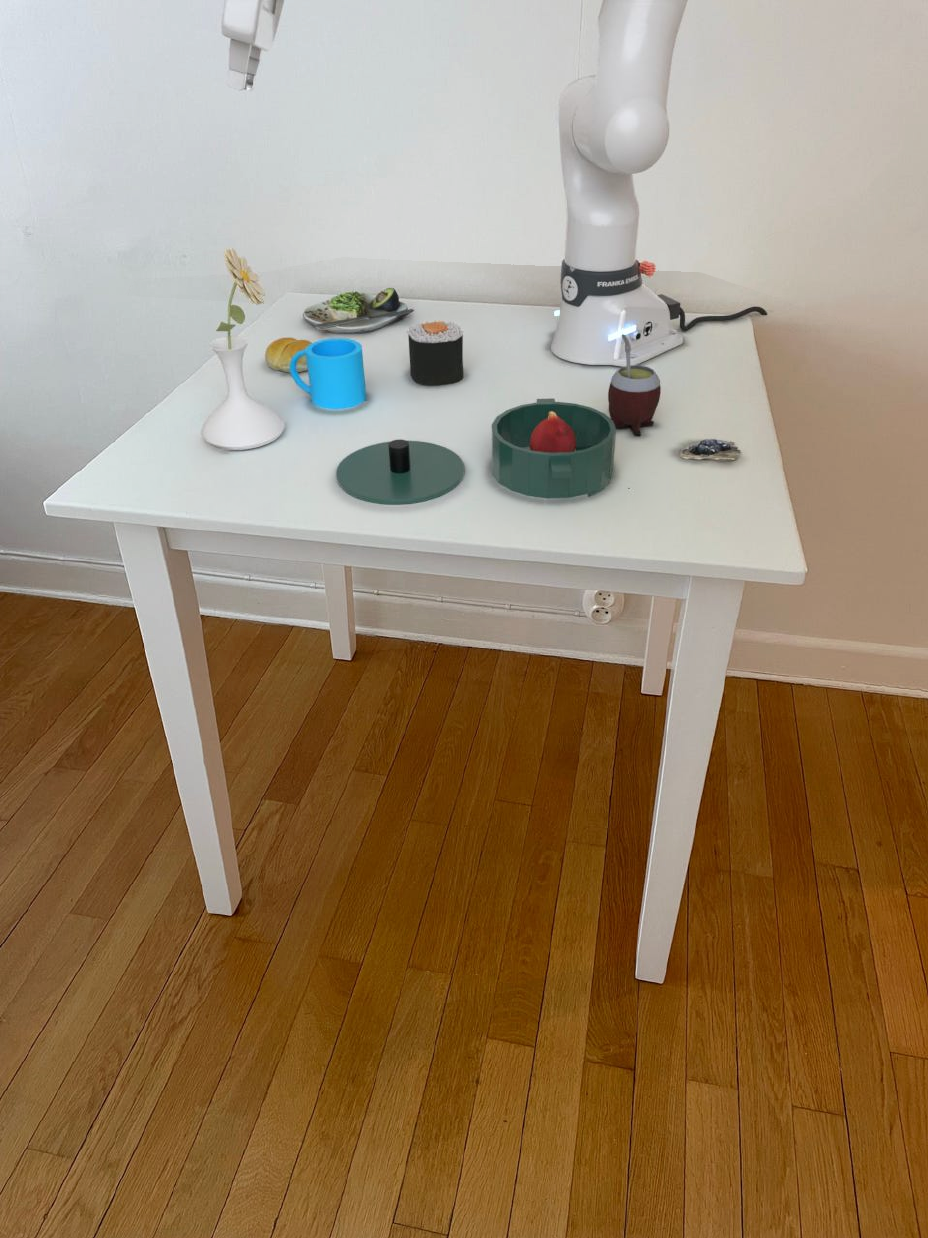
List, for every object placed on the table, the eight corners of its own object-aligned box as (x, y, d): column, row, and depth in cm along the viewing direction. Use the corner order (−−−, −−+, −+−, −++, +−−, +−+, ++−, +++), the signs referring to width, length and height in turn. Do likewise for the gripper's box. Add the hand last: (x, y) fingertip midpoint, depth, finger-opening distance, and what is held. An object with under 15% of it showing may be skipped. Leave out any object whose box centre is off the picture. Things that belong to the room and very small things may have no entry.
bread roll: (288, 351, 159) (285, 327, 157) (330, 361, 155) (327, 337, 153) (254, 367, 154) (250, 342, 151) (296, 377, 150) (293, 353, 147)
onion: (574, 460, 125) (577, 402, 120) (574, 481, 120) (577, 422, 115) (530, 458, 125) (531, 401, 120) (528, 479, 120) (529, 421, 116)
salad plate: (351, 347, 160) (348, 320, 157) (278, 326, 169) (275, 300, 166) (425, 316, 172) (424, 290, 169) (354, 297, 181) (352, 273, 178)
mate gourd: (647, 414, 136) (657, 309, 127) (665, 437, 130) (678, 329, 121) (596, 418, 135) (603, 314, 127) (613, 442, 129) (621, 334, 120)
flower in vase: (260, 463, 126) (229, 271, 112) (187, 451, 130) (147, 263, 115) (306, 423, 136) (283, 242, 121) (237, 413, 140) (206, 235, 125)
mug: (376, 394, 144) (371, 342, 139) (350, 416, 138) (344, 361, 133) (307, 383, 148) (301, 332, 143) (279, 404, 142) (271, 351, 137)
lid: (462, 446, 129) (462, 414, 126) (466, 506, 116) (465, 472, 113) (342, 450, 129) (338, 418, 126) (331, 510, 116) (327, 476, 113)
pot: (599, 435, 131) (603, 391, 127) (624, 511, 114) (628, 463, 111) (488, 438, 131) (488, 394, 127) (496, 515, 114) (496, 467, 110)
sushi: (404, 370, 151) (401, 320, 147) (454, 363, 153) (452, 314, 149) (417, 389, 145) (415, 338, 140) (469, 381, 147) (468, 331, 142)
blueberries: (746, 464, 123) (748, 451, 122) (685, 467, 123) (687, 454, 122) (730, 441, 129) (732, 428, 128) (672, 444, 128) (673, 431, 127)
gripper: (282, -53, 96) (258, 97, 102) (296, -30, 113) (275, 97, 120) (219, -75, 94) (198, 79, 100) (243, -48, 112) (224, 81, 118)
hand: (240, 89), depth 110 cm, fingers open, 8 cm apart
